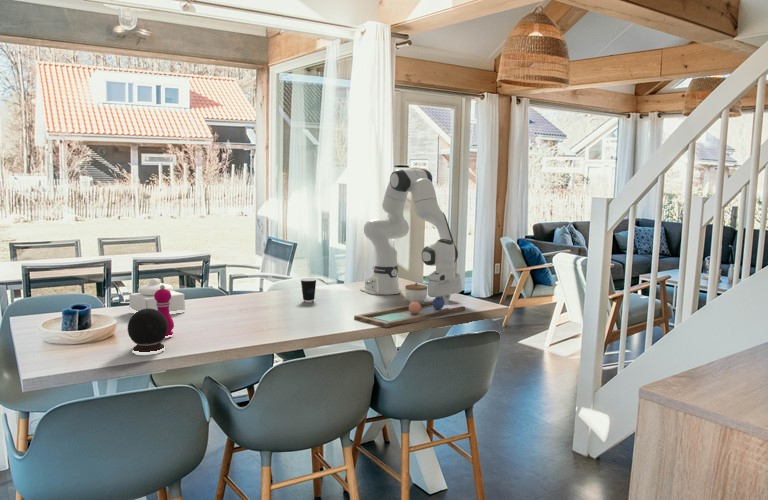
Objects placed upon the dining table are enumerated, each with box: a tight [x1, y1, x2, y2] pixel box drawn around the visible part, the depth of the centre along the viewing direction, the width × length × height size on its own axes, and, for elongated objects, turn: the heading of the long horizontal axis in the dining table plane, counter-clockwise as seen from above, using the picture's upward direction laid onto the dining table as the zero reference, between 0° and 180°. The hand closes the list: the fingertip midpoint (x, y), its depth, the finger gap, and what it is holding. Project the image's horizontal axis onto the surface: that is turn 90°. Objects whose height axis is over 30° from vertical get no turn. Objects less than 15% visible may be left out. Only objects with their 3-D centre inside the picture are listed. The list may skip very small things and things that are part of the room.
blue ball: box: [431, 297, 445, 310], centre depth 290 cm, size 6×6×6 cm
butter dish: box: [128, 277, 186, 312], centre depth 282 cm, size 18×18×16 cm
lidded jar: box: [404, 282, 428, 304], centre depth 307 cm, size 11×11×9 cm
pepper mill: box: [154, 285, 175, 336], centre depth 239 cm, size 7×7×20 cm
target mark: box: [371, 312, 413, 322], centre depth 272 cm, size 14×14×1 cm
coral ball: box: [408, 302, 422, 315], centre depth 280 cm, size 6×6×6 cm
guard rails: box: [353, 300, 466, 328], centre depth 279 cm, size 20×49×2 cm, turn 132°
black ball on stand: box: [127, 308, 168, 352], centre depth 220 cm, size 13×13×15 cm
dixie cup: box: [300, 277, 318, 303], centre depth 308 cm, size 8×8×11 cm
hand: (445, 304), depth 293 cm, fingers closed
